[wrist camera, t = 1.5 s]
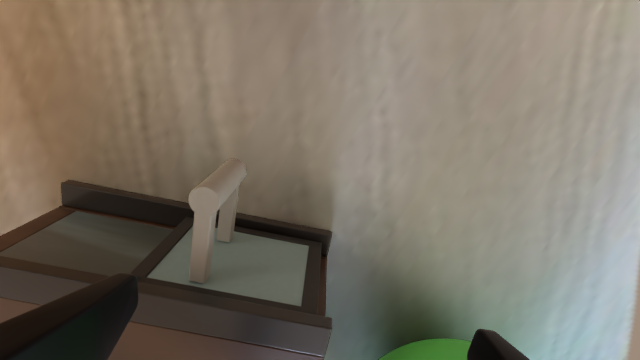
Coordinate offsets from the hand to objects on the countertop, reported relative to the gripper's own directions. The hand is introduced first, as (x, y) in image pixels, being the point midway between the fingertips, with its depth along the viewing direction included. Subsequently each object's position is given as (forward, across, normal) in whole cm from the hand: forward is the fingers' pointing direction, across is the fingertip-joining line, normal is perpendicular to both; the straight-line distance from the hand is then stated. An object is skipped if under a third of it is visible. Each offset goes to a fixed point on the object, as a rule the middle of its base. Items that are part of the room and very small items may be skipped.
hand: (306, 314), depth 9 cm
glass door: (+12, +4, +2) cm, 13 cm away
